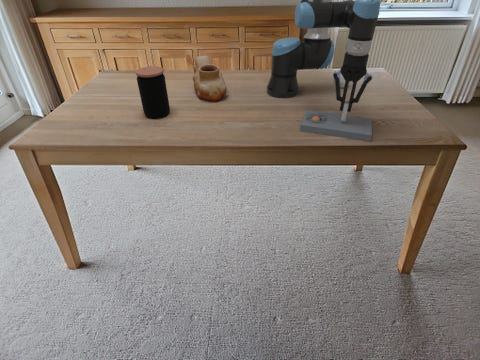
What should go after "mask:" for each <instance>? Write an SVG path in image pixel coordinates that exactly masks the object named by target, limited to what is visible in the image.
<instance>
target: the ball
mask: <svg viewBox="0 0 480 360" xmlns="http://www.w3.org/2000/svg"><path fill="white" fill-rule="evenodd" d="M312 120H313V121H320V118H319V117H318V116H314V117H313V118H312Z"/></svg>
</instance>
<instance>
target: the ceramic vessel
mask: <svg viewBox="0 0 480 360" xmlns="http://www.w3.org/2000/svg"><path fill="white" fill-rule="evenodd" d="M192 69H193V73H194V74H193V75H192V81H193V88H194V91H195V92H196V94H197V97H198V98H199V99H200V100H202V101H207V102H210V103H211V102H212V103H217V102H220V100H221V99H223V98H224V97H225V95H226V93H227V89H228V87H227V84H226V82H225V79H224V78H223V74H222V72H221V71H220V67H219V66H217V65H216V64H213V62H212V61H211V58H210V56H208V55H202V56H201V55H200V56H199V55H198V56H197V57H195V59H194V64H193V65H192Z"/></svg>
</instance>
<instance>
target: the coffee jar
mask: <svg viewBox="0 0 480 360" xmlns="http://www.w3.org/2000/svg"><path fill="white" fill-rule="evenodd" d="M134 74H135V75H136V81H137V87H138V91H139V96H140V100H141V105H142V109H143V110H142V111H143V114H144V115H145V117H147V118H149V119H151V120H152V119H153V120H154V119H155V120H157V119H163V118H165V117H167V116H168V115H169V114H170V111H171V108H170V101H169V95H168V90H167V82H166V76H165V74H164V68H163V67H161V66H154V65H153V66H152V65H151V66H144V67H139V68H137V69H136V70H135V73H134Z"/></svg>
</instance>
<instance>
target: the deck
mask: <svg viewBox="0 0 480 360" xmlns="http://www.w3.org/2000/svg"><path fill="white" fill-rule="evenodd" d="M314 116H318V117H319V118H320V121H313V120H312V118H313V117H314ZM341 117H342V114H341V113H335V112H334V113H333V112H325V111H320V110H311V109H306V111H305V113H304V115H303V118H302V121H301V123H300V126H299V132H304V133H312V134H319V135H324V136H331V137H338V138H346V139H351V140H356V141H357V140H359V141H363V140H367V141H366V142H371V140H372V134H373V132H372V131H373V130H372V129H373V118H372V117H371V118H370V117H365V116H357V115H350V114H346V119H345V121H341Z"/></svg>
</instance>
